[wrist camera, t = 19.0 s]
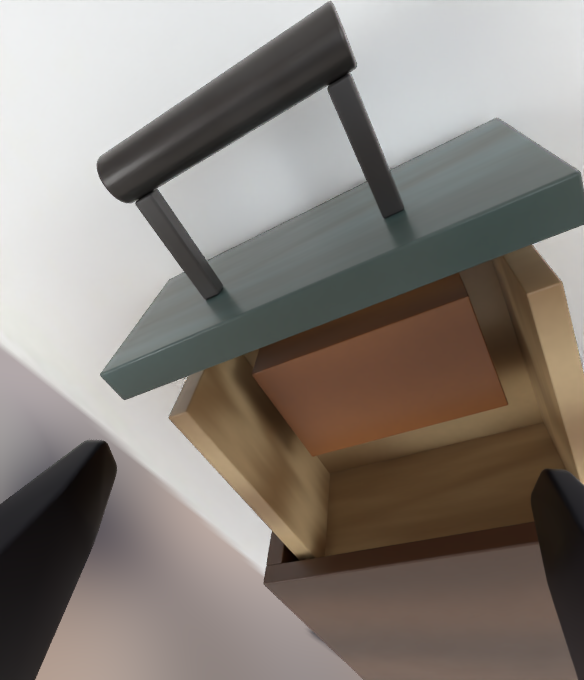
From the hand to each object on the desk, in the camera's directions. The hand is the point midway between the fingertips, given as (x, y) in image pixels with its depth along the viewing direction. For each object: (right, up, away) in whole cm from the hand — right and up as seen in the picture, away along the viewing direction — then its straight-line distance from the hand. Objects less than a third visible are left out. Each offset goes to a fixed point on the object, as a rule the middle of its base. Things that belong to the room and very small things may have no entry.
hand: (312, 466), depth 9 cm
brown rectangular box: (+3, +2, +9) cm, 10 cm away
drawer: (+2, +4, +9) cm, 10 cm away
